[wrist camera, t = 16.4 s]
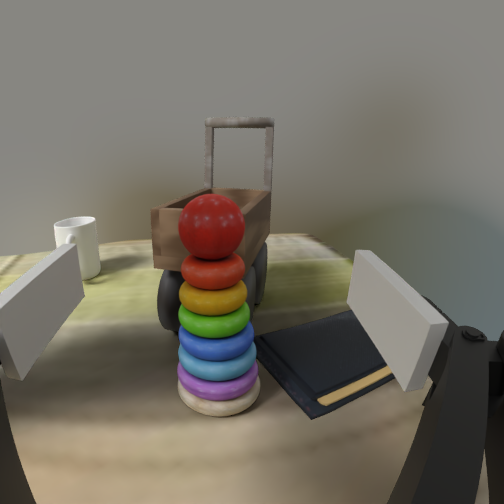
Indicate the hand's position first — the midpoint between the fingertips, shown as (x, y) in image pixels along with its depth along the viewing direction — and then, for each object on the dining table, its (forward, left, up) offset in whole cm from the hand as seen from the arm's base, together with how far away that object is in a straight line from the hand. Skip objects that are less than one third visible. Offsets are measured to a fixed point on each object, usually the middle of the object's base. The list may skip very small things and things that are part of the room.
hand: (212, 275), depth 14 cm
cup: (-36, +29, -17) cm, 49 cm away
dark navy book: (+10, +19, -18) cm, 28 cm away
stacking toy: (-3, +10, -17) cm, 20 cm away
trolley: (-7, +25, -17) cm, 31 cm away
